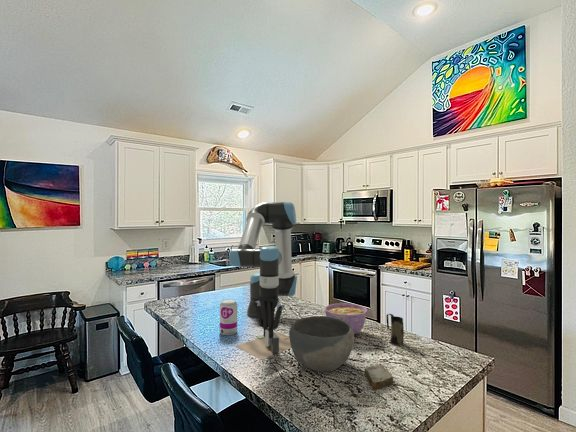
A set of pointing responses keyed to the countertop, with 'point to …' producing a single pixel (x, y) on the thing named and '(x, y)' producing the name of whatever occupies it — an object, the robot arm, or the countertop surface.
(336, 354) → the bowl
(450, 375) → the countertop surface
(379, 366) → the stone
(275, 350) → the peg key
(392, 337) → the mug
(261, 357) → the board
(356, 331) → the bowl of food
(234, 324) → the supplement can
